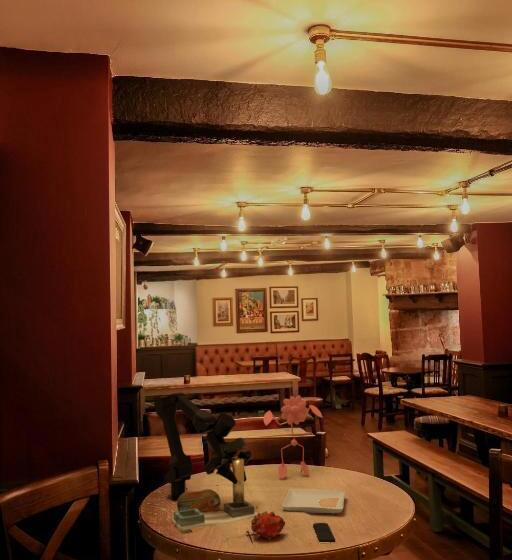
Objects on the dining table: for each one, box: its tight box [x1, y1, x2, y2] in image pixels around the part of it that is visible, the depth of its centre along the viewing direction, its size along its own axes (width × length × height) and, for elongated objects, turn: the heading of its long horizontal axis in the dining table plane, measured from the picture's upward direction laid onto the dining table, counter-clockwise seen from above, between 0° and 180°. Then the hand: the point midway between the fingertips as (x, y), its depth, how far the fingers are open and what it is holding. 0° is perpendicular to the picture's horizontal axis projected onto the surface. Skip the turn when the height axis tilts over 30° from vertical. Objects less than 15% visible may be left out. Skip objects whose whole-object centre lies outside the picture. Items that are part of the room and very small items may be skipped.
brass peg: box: [231, 458, 246, 503], centre depth 198 cm, size 4×4×14 cm
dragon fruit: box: [250, 510, 286, 541], centre depth 176 cm, size 8×8×12 cm
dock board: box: [171, 500, 258, 534], centre depth 193 cm, size 12×28×4 cm, turn 115°
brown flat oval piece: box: [176, 488, 221, 514], centre depth 199 cm, size 15×3×8 cm, turn 105°
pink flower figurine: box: [263, 395, 323, 480], centre depth 243 cm, size 15×26×35 cm, turn 107°
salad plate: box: [281, 488, 347, 515], centre depth 206 cm, size 21×21×3 cm
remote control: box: [312, 522, 336, 544], centre depth 178 cm, size 5×2×15 cm
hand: (241, 482), depth 197 cm, fingers closed on brass peg, 4 cm apart
